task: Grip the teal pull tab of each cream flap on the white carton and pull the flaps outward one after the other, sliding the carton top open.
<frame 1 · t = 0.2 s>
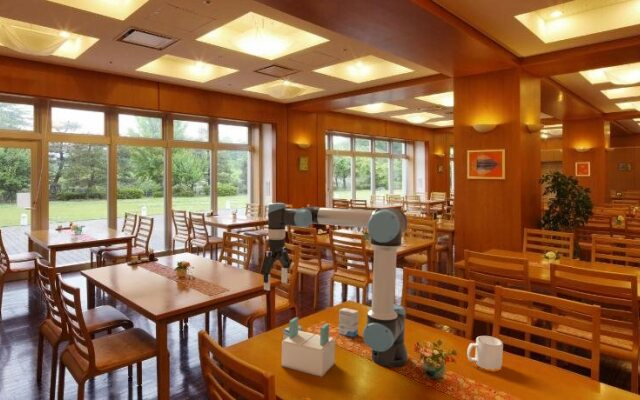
hand: (275, 286, 174), 28 cm above the table, fingers open, 13 cm apart
carton: (308, 364, 161), on the table
flap far: (299, 329, 162), point 14 cm above the table, slide at 0.0 cm
medicine box: (292, 346, 178), on the table
flap near: (318, 333, 158), point 14 cm above the table, slide at 0.0 cm
mug: (485, 366, 164), on the table
ink box: (348, 334, 193), on the table
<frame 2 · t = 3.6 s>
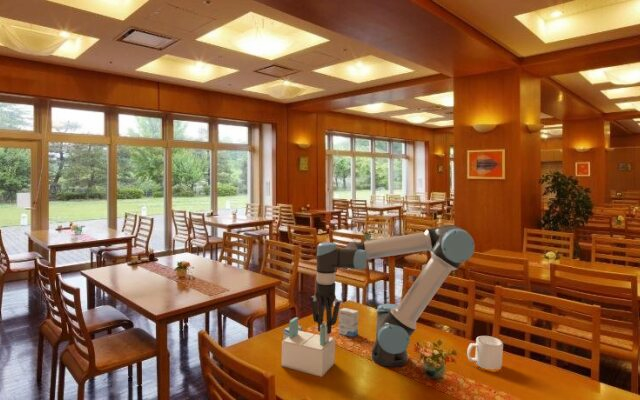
hand: (324, 340, 157), 12 cm above the table, fingers closed on flap near, 1 cm apart
flap near: (318, 333, 158), point 14 cm above the table, slide at 0.0 cm, touching gripper
everything else where it was.
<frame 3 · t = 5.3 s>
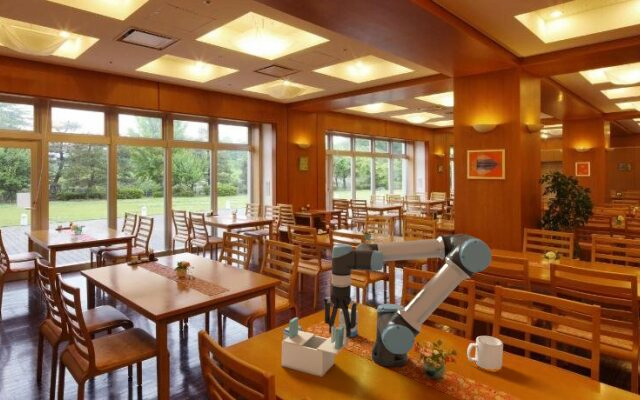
hand: (339, 342, 154), 12 cm above the table, fingers open, 5 cm apart
flap near: (333, 336, 155), point 14 cm above the table, slide at 6.4 cm
everything else where it was.
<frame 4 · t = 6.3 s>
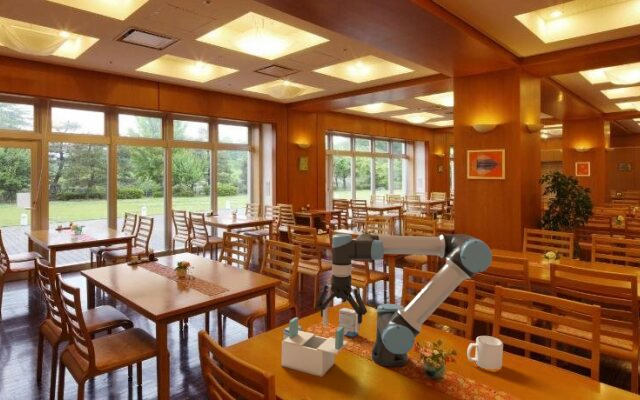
hand: (340, 328, 154), 18 cm above the table, fingers open, 13 cm apart
nothing on the table moved.
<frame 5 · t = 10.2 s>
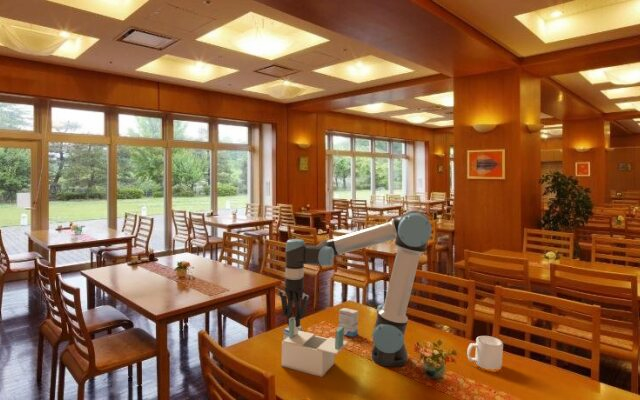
hand: (293, 333, 163), 12 cm above the table, fingers closed on flap far, 1 cm apart
flap far: (299, 329, 162), point 14 cm above the table, slide at 0.1 cm, touching gripper
everything else where it was.
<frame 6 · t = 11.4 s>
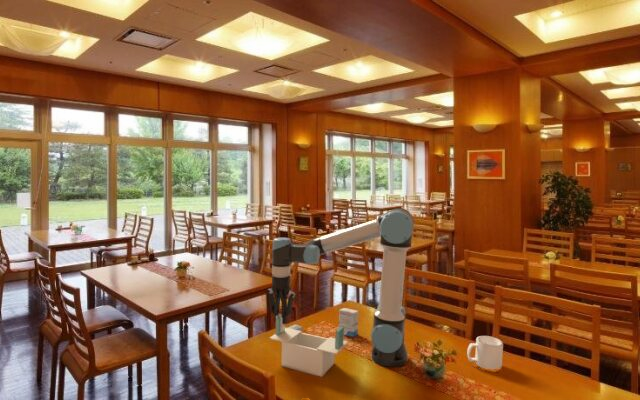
hand: (280, 330, 166), 12 cm above the table, fingers closed on flap far, 1 cm apart
flap far: (286, 326, 164), point 14 cm above the table, slide at 6.4 cm, touching gripper
everything else where it was.
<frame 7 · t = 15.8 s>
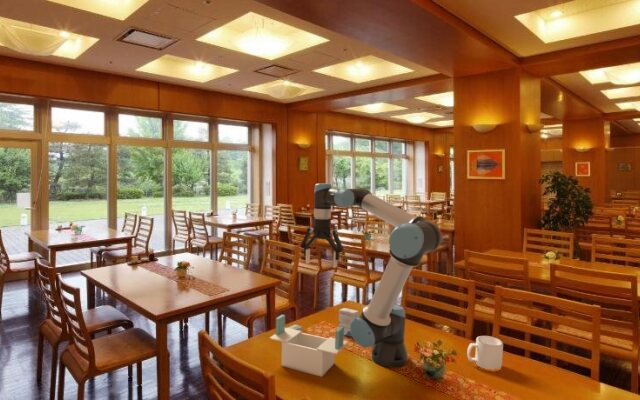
hand: (321, 265, 177), 37 cm above the table, fingers open, 13 cm apart
flap far: (286, 326, 164), point 14 cm above the table, slide at 6.4 cm
everything else where it was.
at the end: flap near slide at 6.4 cm; flap far slide at 6.4 cm; the gripper is holding nothing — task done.
